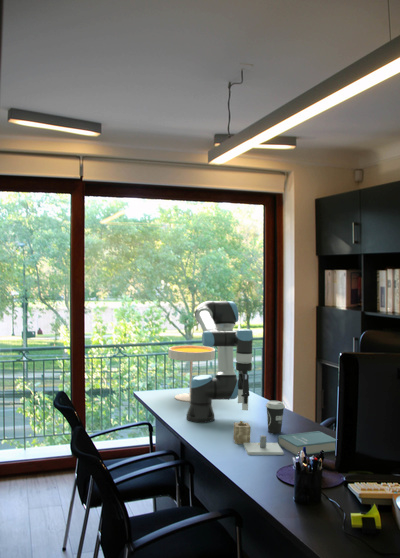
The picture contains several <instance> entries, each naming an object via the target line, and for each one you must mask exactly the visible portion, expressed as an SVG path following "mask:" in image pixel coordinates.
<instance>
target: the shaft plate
mask: <svg viewBox="0 0 400 558" xmlns="http://www.w3.org/2000/svg"><path fill="white" fill-rule="evenodd" d="M259 437H260V438H259V442H250V443H243V444H242V445H243V448H244V450H245V452H246V454H247V455H248V456H279V455H280V456H283V455H285V454H284V450H283V449H282V447H281V446H279V444H278V442H267V436H266V435H260V436H259Z"/></svg>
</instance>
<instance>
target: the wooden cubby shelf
mask: <svg viewBox="0 0 400 558" xmlns="http://www.w3.org/2000/svg"><path fill="white" fill-rule="evenodd" d="M251 430H252V429H251V425H250V423H249V422H243V421H242V420H240V422H233V438H232V439H233V442H234V443H235V444H236V445H238V444H239V445H240V444H241V445H243V443H251V432H252V431H251Z"/></svg>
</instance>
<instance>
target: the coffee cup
mask: <svg viewBox="0 0 400 558" xmlns="http://www.w3.org/2000/svg"><path fill="white" fill-rule="evenodd" d="M285 407H286V406H285V405H284V402H283V401H279V400H268V401H267V402H266V405H265V408H266V420H267V433H268V434H271V433H273V434H272V435H279V434H281V433H282V425H283V417H284V410H285Z"/></svg>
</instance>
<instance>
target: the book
mask: <svg viewBox="0 0 400 558" xmlns="http://www.w3.org/2000/svg"><path fill="white" fill-rule="evenodd" d="M335 441H336V438H334V437H332V436H331V435H328V434H326V433H325V432H322V431H320V430H317V431H316V430H315V431H307V432H298V433H291V434H290V433H288V434H281V435H278V436H277V443H278V444H279V446H280V448H283V449H284V450H285V451H288V452H289V453H290V454H293V455H294V454H295V456H297V454H298V452H299V451H301V450H303V447H306V453H307V455H313V454H321V453H320V451H321V450H323V451H324V452H323V453H328V452H336V451H335ZM297 457H298V456H297Z"/></svg>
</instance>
